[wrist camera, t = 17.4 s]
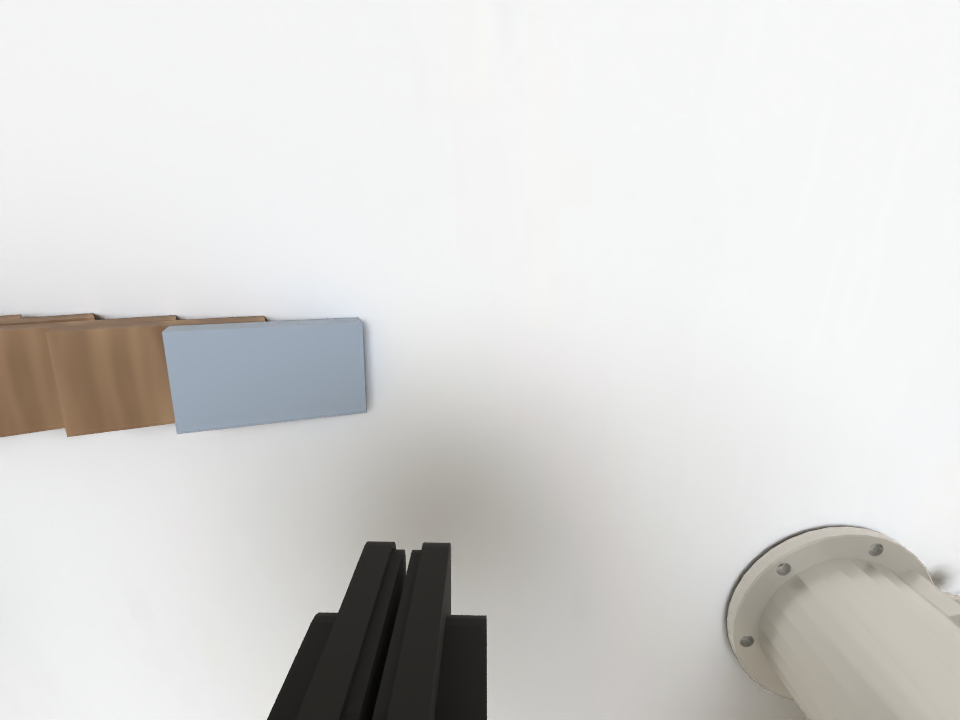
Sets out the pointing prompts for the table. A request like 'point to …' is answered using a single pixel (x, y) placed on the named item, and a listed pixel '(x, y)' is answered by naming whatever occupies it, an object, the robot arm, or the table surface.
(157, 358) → the walnut tile
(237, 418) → the blue grey rectangular block
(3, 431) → the walnut tile
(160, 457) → the table surface
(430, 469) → the table surface
